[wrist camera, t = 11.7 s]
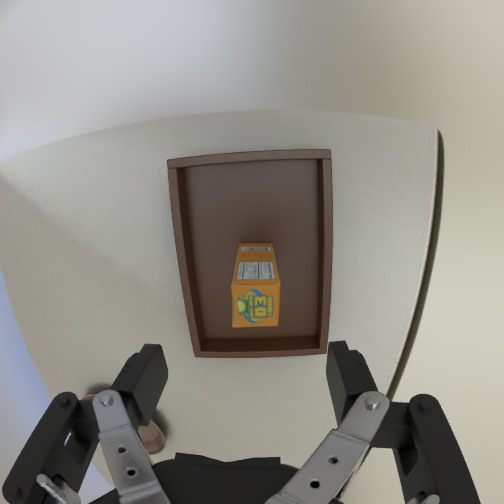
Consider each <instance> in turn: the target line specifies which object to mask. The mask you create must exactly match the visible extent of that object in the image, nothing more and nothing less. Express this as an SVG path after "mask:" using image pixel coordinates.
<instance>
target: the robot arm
mask: <svg viewBox="0 0 504 504" xmlns="http://www.w3.org/2000/svg"><path fill="white" fill-rule="evenodd" d="M326 376H327V381H328V386H329V390H330V394H331V398H332V403H333V407H334V411H335V416H336V420H337V425H338V427H337V429H332V430H331V431H330V432H329V433H328V435H327V436H326V437H325V439H324V440H323V441H322V443H321V444H320V445H319V446H318V448H317V449H316V450H315V451H314V453H313V454H312V455H311V456H310V458H309V459H308V460H307V461H306V462H305V464H304V465H303V466H302V467H301V468H300V469H298V468H295V467H293V466H289V465H285V464H280V457H267V458H249V459H244V460H238V461H232V462H222V461H219V460H215V459H212V458H208V457H205V456H202V455H193V454H184V453H176V455H175V459H170V460H165V461H161V462H159V463H156V464H154V462H153V461H152V459H151V457H150V455H149V453H148V451H147V449H146V447H145V445H144V443H143V441H142V438H141V436H140V434H139V432H138V428H139V426H145V427H148V426H149V424H150V421H151V419H152V416H153V414H154V411H155V409H156V406H157V404H158V401H159V399H160V396H161V394H162V392H163V389H164V387H165V384H166V382H167V379H168V368H167V364H166V361H165V357H164V354H163V350H162V347H161V345H160V344H144V346H143V347H142V349H141V351H140V352H139V353H135V354H133V355H132V356H131V357H130V358H128V360H127V362H126V363H125V365H124V366H123V368H122V370H121V372H120V373H119V375H118V376H117V378H116V379H115V381H114V383H113V384H112V386H111V388H110V389H109V390H104V391H101V392H99V393H97V394H96V395H95V396H94V398H93V400H78V398H77V396H76V395H75V394H74V393H72V392H63V393H60V394H58V395H57V396H56V397H55V398H54V399H53V401H52V402H51V404H50V405H49V407H48V409H47V410H46V412H45V413H44V415H43V416H42V418H41V419H40V421H39V423H38V424H37V426H36V428H35V429H34V431H33V433H32V434H31V436H30V437H29V439H28V441H27V443H26V444H25V446H24V448H23V449H22V451H21V453H20V455H19V456H18V458H17V460H16V462H15V463H14V466H13V467H12V469H11V471H10V473H9V475H8V477H7V479H6V480H5V482H4V484H3V487H2V493H3V496H4V498H5V500H7V502H9V503H10V504H81V501H80V497H79V495H78V492H79V490H80V487H81V484H82V482H83V479H84V477H85V474H86V472H87V469H88V466H89V464H90V462H91V459H92V457H93V454H94V452H95V450H96V447H97V445H98V443H99V442H100V444H101V447H102V450H103V453H104V456H105V459H106V462H107V465H108V468H109V471H110V473H111V476H112V479H113V481H114V484H115V486H116V488H115V489H113V490H112V491H110V492H108V493H107V494H105V495H103V496H101V497H100V498H98V499H96V500H94V501H92V502H90V503H89V504H344V503H342V502H341V501H340V500H341V498H342V497H343V495H344V494H345V492H346V491H347V489H348V488H349V486H350V485H351V483H352V481H353V479H354V478H355V476H356V475H357V473H358V471H359V470H360V468H361V466H362V465H363V463H364V462H365V460H366V458H367V457H368V455H369V453H370V451H371V450H372V448H373V447H376V448H392V450H393V453H394V457H395V461H396V465H397V469H398V474H399V478H400V482H401V486H402V491H403V495H404V500H405V504H481V503H480V500H479V497H478V494H477V491H476V489H475V486H474V483H473V480H472V478H471V475H470V472H469V470H468V467H467V464H466V462H465V460H464V457H463V455H462V452H461V450H460V447H459V445H458V443H457V440H456V438H455V436H454V434H453V432H452V429H451V427H450V425H449V423H448V420H447V418H446V416H445V414H444V412H443V410H442V408H441V406H440V404H439V402H438V400H437V399H436V398H435V397H433V396H431V395H428V394H418V395H416V396H414V397H412V398H411V400H410V402H409V403H402V402H392V401H389V399H388V398H387V397H386V396H385V395H384V394H382V393H380V392H378V389H377V387H376V384H375V382H374V380H373V377H372V375H371V373H370V371H369V368H368V366H367V365H366V361H365V359H364V357H363V355H362V354H361V353H359V352H358V351H357V350H349V349H348V346H347V344H346V341H334V342H329V345H328V355H327V364H326ZM69 432H70V433H71V435H70V437H69V439H68V441H67V443H66V445H64V444H65V440H66V438H67V436H68V434H69Z"/></svg>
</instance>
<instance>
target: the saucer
mask: <svg viewBox="0 0 504 504" xmlns="http://www.w3.org/2000/svg"><path fill="white" fill-rule="evenodd" d="M96 394H97V393H95V394H90V395H87V396H85V397H83V398H82V400H93V398H94V396H95V395H96ZM138 432H139V434H140V436H141V438H142V441H143V443H144V445H145V447H146V449H147V451H148V453H149V455H154V454H158V453H160V452H161V451H163V450H164V448H165V445H166V440H165V437H164V435H163V432H162V430H161V428H160V427H159V425H158V424H157V422H156V421H155V420H154V418H153V417H152V419H151V421H150V424H149V426H148V427H145V426H139V428H138Z"/></svg>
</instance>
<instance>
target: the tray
mask: <svg viewBox="0 0 504 504" xmlns="http://www.w3.org/2000/svg"><path fill="white" fill-rule="evenodd" d="M167 167H168V180H169V191H170V201H171V210H172V219H173V227H174V236H175V243H176V251H177V258H178V265H179V272H180V278H181V285H182V291H183V297H184V303H185V309H186V314H187V320H188V325H189V330H190V336H191V341H192V346H193V351H194V355H195V357H204V358H260V357H287V356H304V355H318V354H326V353H327V343H328V331H329V317H330V301H331V281H332V248H333V194H332V161H331V150H330V149H301V150H270V151H251V152H237V153H224V154H213V155H203V156H194V157H185V158H177V159H169V160H167ZM240 243H272V244H273V250H274V255H275V260H276V265H277V270H278V275H279V280H280V305H279V321H278V325H277V326H256V327H241V328H233V327H232V291H231V284H232V278H233V272H234V267H235V261H236V256H237V251H238V247H239V244H240Z"/></svg>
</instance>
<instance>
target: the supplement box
mask: <svg viewBox="0 0 504 504" xmlns="http://www.w3.org/2000/svg"><path fill="white" fill-rule="evenodd" d="M231 291H232V327H233V328H241V327H256V326H277V325H278V321H279V305H280V280H279V275H278V270H277V265H276V260H275V255H274V250H273V244H272V243H240V244H239V247H238V251H237V256H236V261H235V267H234V272H233V278H232V284H231Z"/></svg>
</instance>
